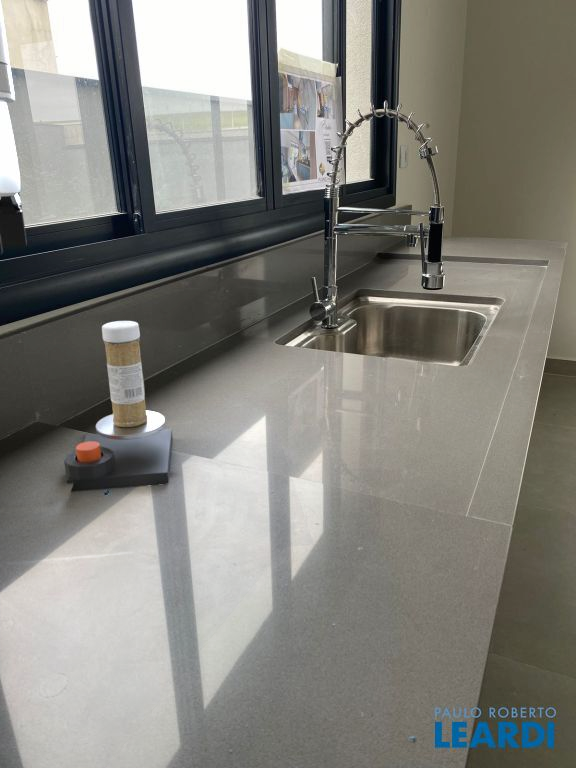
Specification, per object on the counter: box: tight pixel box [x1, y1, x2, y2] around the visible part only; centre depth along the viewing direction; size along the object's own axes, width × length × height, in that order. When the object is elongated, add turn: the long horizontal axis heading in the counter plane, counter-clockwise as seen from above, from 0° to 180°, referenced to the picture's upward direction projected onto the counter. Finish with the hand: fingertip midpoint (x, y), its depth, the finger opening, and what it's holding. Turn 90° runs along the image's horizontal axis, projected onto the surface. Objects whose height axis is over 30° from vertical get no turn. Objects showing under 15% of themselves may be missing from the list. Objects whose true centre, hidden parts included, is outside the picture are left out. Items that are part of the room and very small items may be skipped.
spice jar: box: [101, 320, 148, 427], centre depth 79 cm, size 5×5×14 cm
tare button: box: [75, 441, 101, 462], centre depth 74 cm, size 3×3×2 cm
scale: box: [63, 428, 174, 492], centre depth 80 cm, size 12×14×4 cm
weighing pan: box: [95, 410, 166, 440], centre depth 81 cm, size 9×9×2 cm
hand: (1, 250), depth 69 cm, fingers open, 9 cm apart
